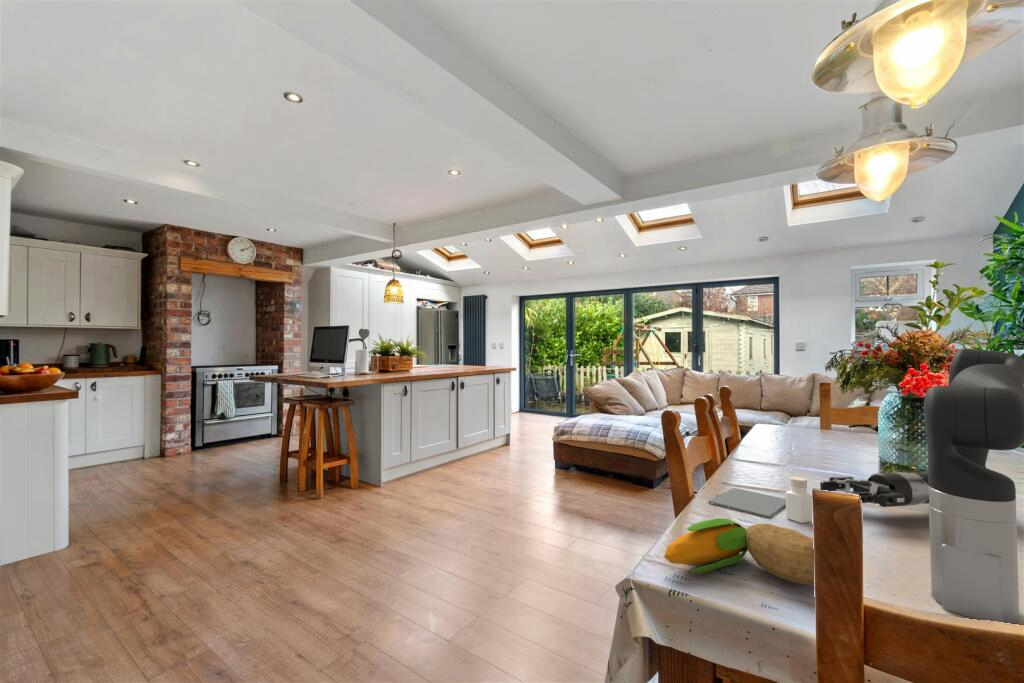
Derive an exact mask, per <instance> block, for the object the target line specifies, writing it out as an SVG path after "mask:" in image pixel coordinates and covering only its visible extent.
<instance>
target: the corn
mask: <svg viewBox="0 0 1024 683" xmlns="http://www.w3.org/2000/svg"><path fill="white" fill-rule="evenodd" d="M746 529H747V528H745V527H743V526H742V525H740V524H739V523H737V522H735V521H734V520H731V519H730V518H719V517H717V518H714V519H713V518H712V519H708V520H702V521H699V522H696V523H692V525H690V526H688V527H687V528H686V531H688V532H687V533H684V534H683V535H681V536H679V537H677V538H676V539H674V540H673V541H672V542H671V543H669V544H668V546H667V547H666V549H665V553H664V559H665V560H667V561H668V562H669V563H670V564H675V565H676V564H677V565H687V566H697V567H696V568H694V569H692V570H691V572H690V573H691V574H692V573H693V574H698V572H703V573H705V571H707V572H710V571H709V570H711V571H714V570H713V569H715V570H718V569H721V567H722V568H724V567H728V566H731V565H735V564H738V563H740V562H741V560H743V559H744V557H745V556H746V554H747V552H748V550H747V543H746ZM708 563H710V564H708ZM705 564H707V565H705ZM700 565H703V566H700ZM698 566H699V567H698ZM717 568H718V569H717Z"/></svg>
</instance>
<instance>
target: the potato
mask: <svg viewBox="0 0 1024 683" xmlns="http://www.w3.org/2000/svg"><path fill="white" fill-rule="evenodd" d="M745 529H746V543H747V552H748V553H749V554H750V556H751V557H752V558H753V560H754V561H755V562H756V564H757V565H758V566H759V567H761V568H762V569H763V570H765V571H767V572H769V573H770V574H771V575H774V576H776V577H778V578H780V579H783V580H784V581H787V580H788V582H791V583H794V582H795V583H794V584H800V585H804V584H806V585H814V584H815V583H814V549H813V539H814V538H813V537H810V536H808V535H805V534H803V533H802V532H799V531H797V530H795V529H792V528H787V527H782V526H777V525H774V524H770V523H756V524H753V525H750V526H748V527H747V528H745Z"/></svg>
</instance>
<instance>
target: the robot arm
mask: <svg viewBox="0 0 1024 683" xmlns="http://www.w3.org/2000/svg"><path fill="white" fill-rule="evenodd" d="M923 416H924V427H925V434H926V435H925V436H926V446H927V447H926V448H927V464H928V465H927V466H928V468H927V469H928V470H925V471H921V472H903V471H902V472H879V473H878V472H877V473H873V474H871V475H870V476H869V477H868V479H854V477H852V476H837V477H835V476H832V477H831V476H830V477H829V479H828V480H821V481H820V483H819V485H820V486H819V487H820V488H819V489H820V491H822V490H828V491H827V492H845V494H846V493H852V494H859V495H860V496H861V500H862V503H861V504H871V505H876V504H877V505H879V507H882V508H889V507H890V508H891V507H910V506H917V505H918V506H919V505H923V504H924V505H925V504H927V505H928V516H929V518H928V520H929V555H930V557H929V559H930V560H929V562H930V584H931V586H930V589H931V590H930V591H931V592H930V595H931V597H932V598H933V599H934V600H935V601H936V602H937V603H939V604H940V605H941V606H942V608H943V609H944V610H947V611H950V612H953V613H956V614H960V615H963V616H966V617H970V618H973V619H977V620H979V619H982V620H990V621H998V622H1004V623H1011V624H1015V623H1018V622H1019V621H1020V590H1019V564H1018V563H1019V562H1018V560H1019V559H1018V536H1017V535H1018V531H1017V530H1018V528H1017V527H1018V526H1017V500H1016V498H1017V497H1016V496H1017V494H1016V485H1015V482H1014V480H1013V479H1012V478H1011V477H1009V476H1007V475H1006V474H1004V473H1001V472H998V471H996V470H992V469H989V468H987V466H986V465H987V464H986V463H987V461H988V460H987V459H988V456H989V455H988V454H989V452H990V451H992V450H993V451H1012V450H1016V449H1018V448H1020V447H1021V446H1022V445H1023V444H1024V358H1023V357H1022V356H1019V355H1018V354H1015V353H1011V352H1010V353H1009V352H1006V351H1005V352H1003V351H995V350H986V349H978V348H960V349H958V350H957V351H956V352H955V354H953V357H952V359H951V363H950V365H949V371H948V384H947V385H934V386H931V387H930V388H929V389H927V391H926V393H925V396H924V400H923ZM851 489H852V490H851ZM982 620H981V621H982Z"/></svg>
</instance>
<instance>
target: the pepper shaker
mask: <svg viewBox="0 0 1024 683" xmlns="http://www.w3.org/2000/svg"><path fill="white" fill-rule="evenodd" d="M789 479H790V480H789V481H790V483H789V484H790V490H788V491H785V499H786V506H785V516H786V518H787V519H789V520H790V521H794V522H796V523H799V524H807V523H810V522H812V521H813V519H812V515H813V495H812V494H811V493H809V492H808V491H807V489H808V480H807V478H804V477H802V476H801V477H800V476H790V477H789ZM811 495H812V496H811Z"/></svg>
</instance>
